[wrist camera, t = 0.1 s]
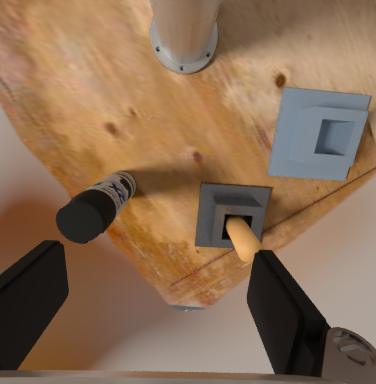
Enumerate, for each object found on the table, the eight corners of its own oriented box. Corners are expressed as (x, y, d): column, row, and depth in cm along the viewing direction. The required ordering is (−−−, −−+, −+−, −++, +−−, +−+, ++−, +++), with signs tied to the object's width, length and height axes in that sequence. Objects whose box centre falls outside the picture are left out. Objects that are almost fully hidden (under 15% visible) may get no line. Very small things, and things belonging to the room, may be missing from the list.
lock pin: (223, 209, 47) (240, 239, 34) (241, 210, 48) (265, 240, 34) (221, 226, 49) (236, 261, 35) (239, 227, 49) (261, 262, 36)
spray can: (142, 189, 47) (115, 229, 27) (118, 204, 47) (76, 253, 28) (125, 165, 45) (83, 189, 26) (100, 180, 46) (42, 215, 26)
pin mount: (201, 182, 47) (203, 189, 41) (268, 187, 47) (280, 194, 42) (194, 244, 51) (196, 258, 45) (256, 247, 52) (266, 261, 46)
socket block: (283, 88, 42) (299, 81, 36) (366, 96, 43) (395, 91, 37) (267, 174, 47) (279, 180, 41) (341, 180, 47) (363, 186, 42)
